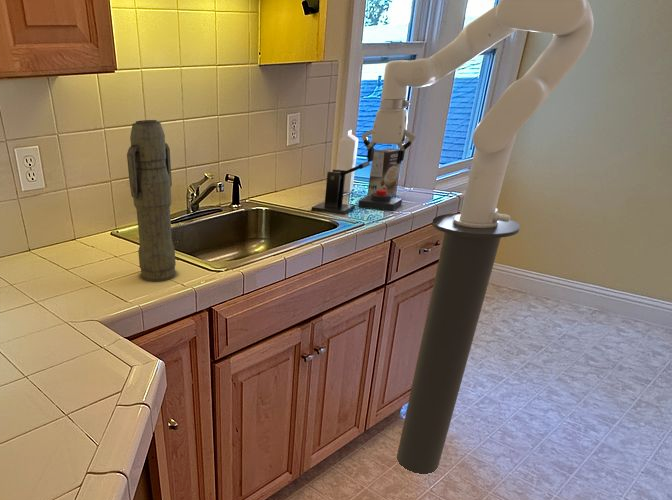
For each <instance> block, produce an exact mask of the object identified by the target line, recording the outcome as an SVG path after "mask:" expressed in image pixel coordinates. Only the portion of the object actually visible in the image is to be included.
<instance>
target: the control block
mask: <svg viewBox="0 0 672 500" xmlns="http://www.w3.org/2000/svg"><path fill="white" fill-rule="evenodd" d="M402 202H403V198H397V197H392V196H391V194H389V193H387V195H386V196H377V195H376V193H372V194H371V196H367V195H366V196H365V197H363V198H361V199H360V200H358V205H357V207H358V208H366V209H371V210H372V209H373V210H382V211H388V212H389V211H390V212H393V211H395V210H396V209H398V208H399V207H401V206H402Z"/></svg>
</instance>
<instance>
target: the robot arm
mask: <svg viewBox="0 0 672 500" xmlns="http://www.w3.org/2000/svg"><path fill="white" fill-rule="evenodd" d="M594 21H595V19H594V14H593V10H592V7H591V5H590V2H589V1H588V0H499V2H498V4H497V5H495V6H493V7H492V8H491V9H489V10H487V11H486V12H484V13H483V14H481V15H480V16H479V17H477V18H475V19H474V20H473V21H471V22H469V23H468V24H467V25H465V27H464V28H462V29H461V31H460V32H459V33H458V35H457V36H456V37H455V38H454V39H453V40H452V41H451V42H450V43H448V44H447V45H446V46H444V47H443V48H441V49H440V50H439V51H437V52H436V53H434V54H433V55H431V56H429V57H424V58H418V59H412V60H408V59H399V60H398V59H397V60H396V59H395V60H390V61H388V62H387V63H386V65H385V68H384V76H383V83H382V90H381V98H380V104H379V109H378V110H377V111H376V114H375V118H374V122H373V126H372V129H369V130H368V131H366V132H364V133H362V134H361V139H362V141H363V144H364V146H365V147H366V149H367V153H366V159H367V161H368V162H369V163H370V162H371V163H372V161H373V156H374V151H375V148H374V147H375V146H376V145H377V144H379V145H380V144H381V145H397V147H398V149H400V151H398V157H397V164H400V163H401V164H402V163H403V161H404V158H405V154H406V150H407V149H409V147H411V145H412V144H413V143H414V142H415V140H416V138H417V136H416V134H414V133H412V132H411V131H409V130H408V109H406V108H407V107H410V106H411V101H410V100H408V98H407V97H408V92H409V91H408V90H409V87H411V88H423V87H428V86H431V85H434V84H436V83H437V82H439V81H440V80H442V79H444V78H445V77H447V76H448V75H450V74H451V73H453V72H455V71H457V70H458V69H459V68H461V67H462V66H464V65H465V64H467V63H468V62H470V61H472V60H473V59H475V58H477V56H479V55H481V54H482V53H484V52H485V51H487V50H489V49H490V48H492V47H493V46H495V45H496V44H498V43H499V42H501V41H503V40H504V39H506V38H508V37H509V36H510V35H513V34H515V32H517V31H518V30H519V31H527V32H535V33H544V34H552V37H551V41H550V42H549V44H548V45H547V46H546V48H545V49H544V50H543V51H542V52H541V54H539V56H538V57H537V58H536V60H535V62H534V63H533V64H532V65H531V66H530V67H529V68H528V70H527V71H526V72H525V73H524V75H523V76H521V78H518V79H517V80H515V81H514V82H513V83H511V84H510V85H509V86H508V87H507V88H506V89H505V91H504V92H502V94H501V95H500V97H499V98H497V100H496V101H495V103H494V104H493V105H492V106H491V108H490V109H489V110H488V111H487V113H486V114H485V115H484V116H483V117H482V119H481V120H480V121H479V122H478V124H477V125H476V127H475V129H474V131H473V134H472V144H473V147H474V148H475V151H474V153H473V158H472V161H471V167H470V171H469V174H468V179H467V183H466V187H465V192H464V196H463V200H462V206H461V209H460V213H461V214H460V216H457V217H455V218H454V221H453V222H454V223H455V224H457V225H460V226H464V227H470V228H492V227H495V226H497V225H498V221H503V222H509V220H511V215H508V214H507V213H500V212H499V208H497V206H498V203H499V199H500V196H501V191H502V187H503V184H504V179H505V176H506V173H507V168H508V166H509V161H510V158H511V155H512V151H513V148H514V145H515V142H516V139H517V134H518V132H519V131H520V129H521V128H522V127H523V126H524V125H525V124H526V123H527V121H528V120H529V119H530V118H531V117H532V116H533V114H534V113H536V111H537V110H538V109H539V108H541V107H542V106H543V104H545V102H546V100H547V99H548V98H549V96H550V95H551V93H552V92H553V91H554V90H555V89H556V87H557V86H558V85H559V84H560V83H561V82H562V80H563V79H564V78H565V77H566V76H567V74H569V72H570V71H571V69H572V68H573V67H575V65H576V63H578V61H579V60H580V58H581V57H582V56H583V54H584V53H585V51H586V50H587V48H588V46H589V44H590V42H591V39H592V36H593V34H594V33H593V32H594V28H595V22H594ZM369 136H370V137H371V138H370V140H369ZM406 138H408V140H407V142H406V143H405V141H406Z"/></svg>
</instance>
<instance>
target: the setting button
mask: <svg viewBox="0 0 672 500" xmlns="http://www.w3.org/2000/svg"><path fill="white" fill-rule="evenodd" d="M376 195H377V196H386V195H387V190H384V189H379V190H376Z"/></svg>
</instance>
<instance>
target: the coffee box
mask: <svg viewBox="0 0 672 500" xmlns="http://www.w3.org/2000/svg"><path fill="white" fill-rule="evenodd" d="M398 151H400V148H383V149H376V150H374V156H373V161H371V164H370V165H371V166H370V172H369V180H368V186H367V187H368V188H367V194H366V197H367V196H371V194H372V193H376V190H379V189H384V190H387V193H389V194H391V197H393V196H397V193H398V192H397V191H398V187H399V186H398V185H399V179H400V174H401V167H402V162H401V163H400V164H397V157H398Z"/></svg>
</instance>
